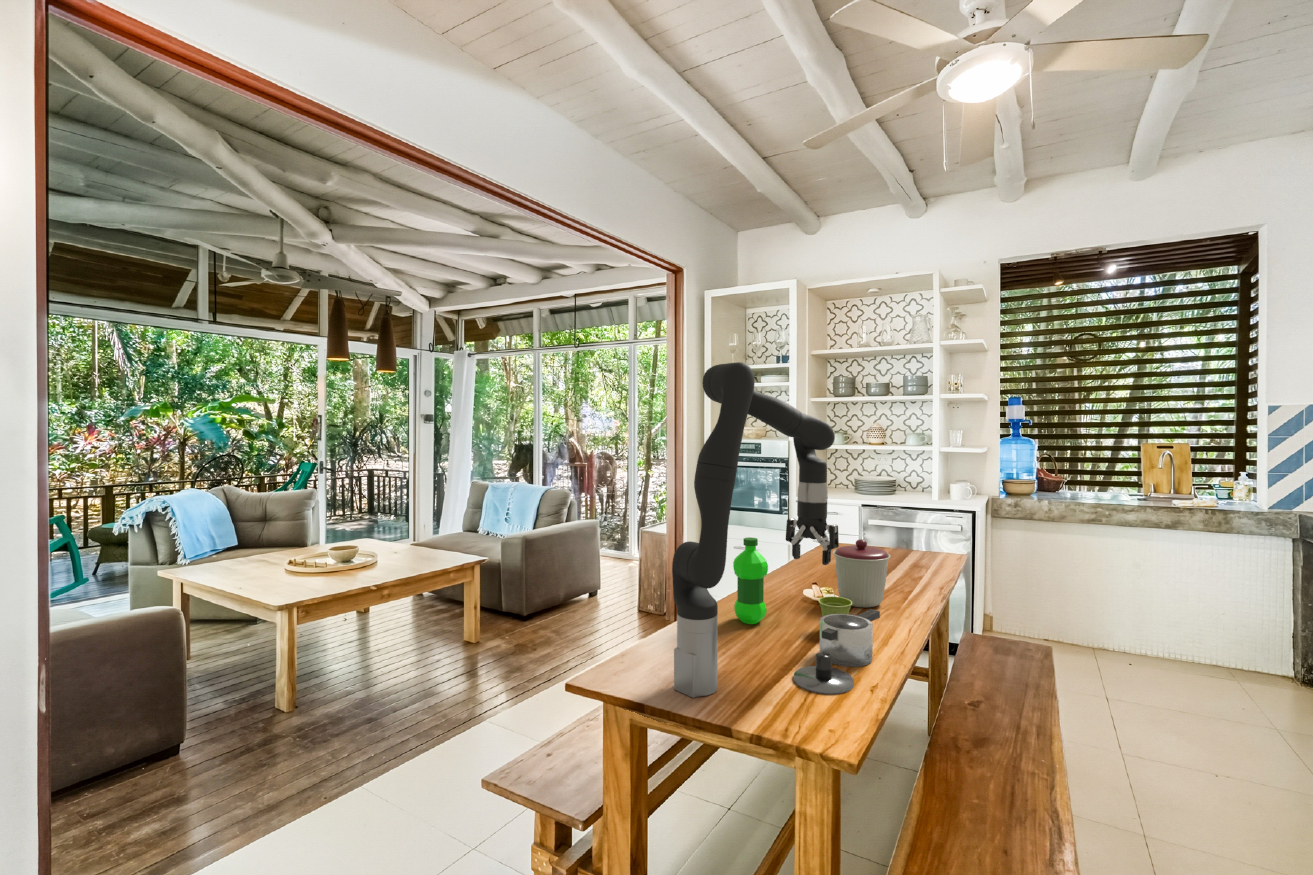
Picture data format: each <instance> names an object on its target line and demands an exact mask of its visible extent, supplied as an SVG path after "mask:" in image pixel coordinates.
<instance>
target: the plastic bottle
mask: <svg viewBox="0 0 1313 875" xmlns="http://www.w3.org/2000/svg"><path fill="white" fill-rule="evenodd" d="M758 542H759V540H758V538H757V537H744V538H743V546H744V547H745V549H744V550H743V551H742V552H741V553H739V554H738V555H737V556H736V557H735V558H734V559H733V562H732V564H733V565H732V567H733V571H734V575H735V576H736V577H737V581H736V582H737V592H736V594H737V599H736V601H735V602H734V605H733V606H734V608H733V609H734V613H735V616H736V617H737V618H738V619H739V620H740V621H741V622H742V623H744V624H746V625H757V624H758V623H760V622H761V621H762V620H763V619H764V618H765V617H766V615H767V612H768V611H767V610H768V609H767V605H766V603H765V600H764V588H765V587H764V584H765V583H764V578H765V577H766V576H767V575H768V572H769V571H768V570H769V565H768V562H767V560H766V558H765V557H764V555H762V554H761V553H760V552H758V551H757V546H758Z"/></svg>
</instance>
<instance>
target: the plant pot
mask: <svg viewBox="0 0 1313 875" xmlns="http://www.w3.org/2000/svg"><path fill="white" fill-rule="evenodd" d="M817 600H818V603H819V607H820V610H821V617H823V616H826V615H831V614H848V615H850V610H851V607H852V606H851V605H852V601H851V600H849V599H846V598H842V597H840V596H834V595H833V596H831V595H830V596H822V597H819V598H818V599H817Z"/></svg>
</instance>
